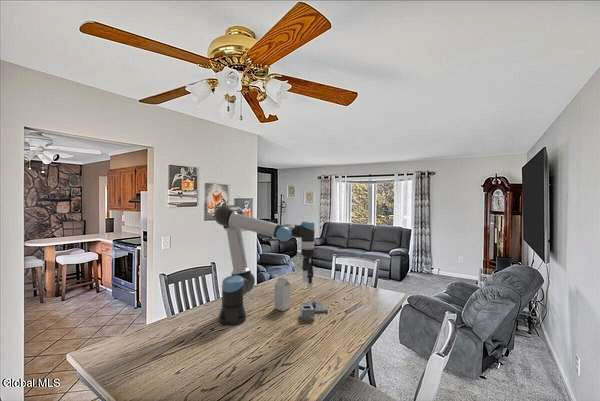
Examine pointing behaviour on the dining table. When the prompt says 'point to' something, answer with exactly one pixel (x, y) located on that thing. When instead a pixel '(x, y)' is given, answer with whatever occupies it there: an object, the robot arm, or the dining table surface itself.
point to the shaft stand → (317, 305)
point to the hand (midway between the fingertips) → (307, 285)
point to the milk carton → (282, 294)
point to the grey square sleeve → (306, 312)
